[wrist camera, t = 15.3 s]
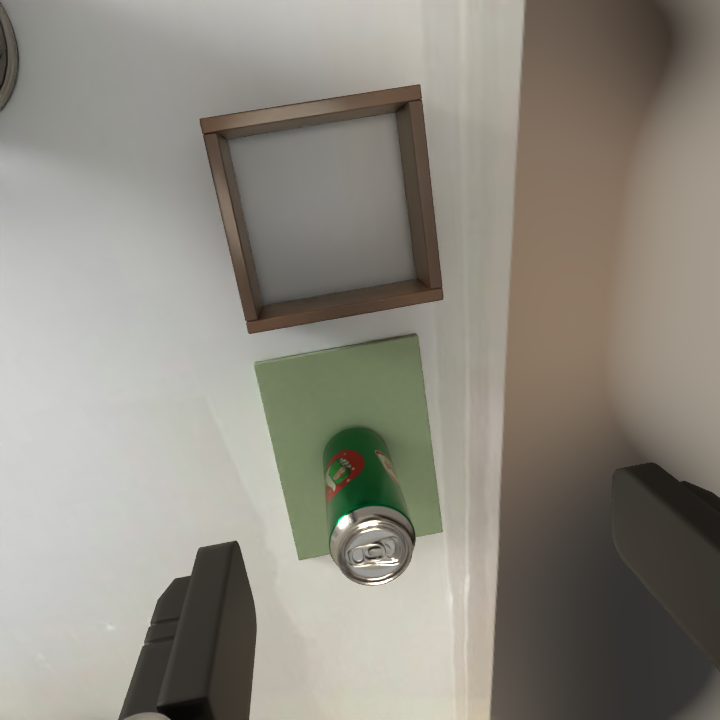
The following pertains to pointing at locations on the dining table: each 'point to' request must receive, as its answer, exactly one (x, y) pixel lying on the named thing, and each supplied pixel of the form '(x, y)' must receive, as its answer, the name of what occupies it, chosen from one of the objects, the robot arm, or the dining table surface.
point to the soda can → (365, 508)
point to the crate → (417, 195)
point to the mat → (343, 411)
